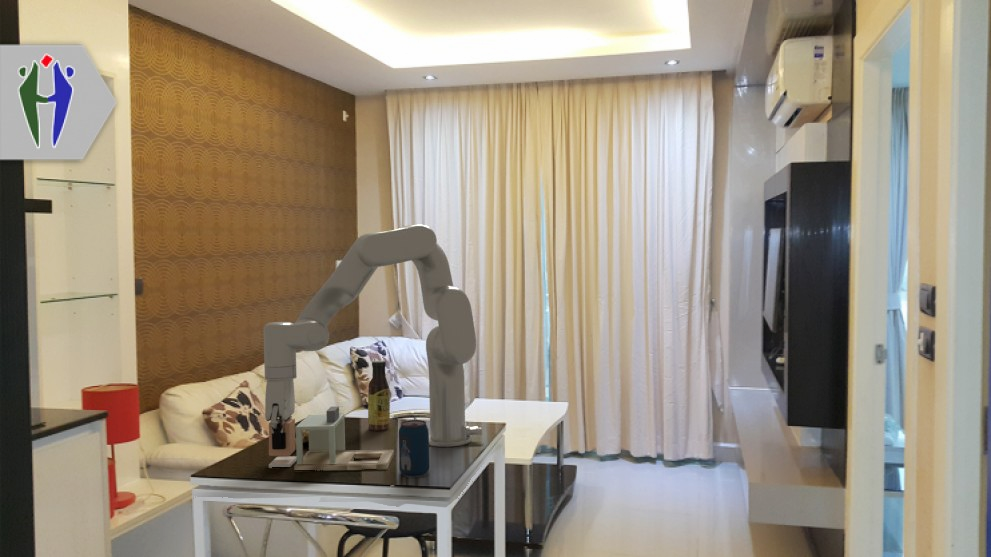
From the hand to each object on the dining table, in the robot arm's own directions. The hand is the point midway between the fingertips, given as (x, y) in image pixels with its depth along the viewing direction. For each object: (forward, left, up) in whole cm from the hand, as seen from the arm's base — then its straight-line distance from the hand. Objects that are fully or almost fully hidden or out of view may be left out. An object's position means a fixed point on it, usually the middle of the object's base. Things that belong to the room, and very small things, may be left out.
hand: (282, 445), depth 185 cm
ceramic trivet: (0, 0, -5) cm, 5 cm away
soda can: (-34, +10, -5) cm, 36 cm away
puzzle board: (-16, 0, -5) cm, 16 cm away
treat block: (0, 0, -2) cm, 2 cm away
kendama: (-1, -16, -5) cm, 16 cm away
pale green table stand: (-10, 0, -3) cm, 10 cm away
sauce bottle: (-19, -35, -5) cm, 39 cm away
